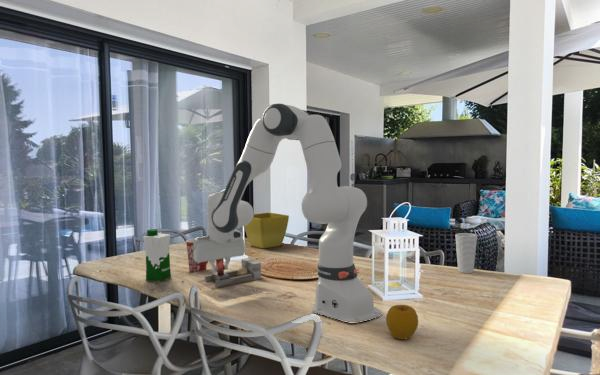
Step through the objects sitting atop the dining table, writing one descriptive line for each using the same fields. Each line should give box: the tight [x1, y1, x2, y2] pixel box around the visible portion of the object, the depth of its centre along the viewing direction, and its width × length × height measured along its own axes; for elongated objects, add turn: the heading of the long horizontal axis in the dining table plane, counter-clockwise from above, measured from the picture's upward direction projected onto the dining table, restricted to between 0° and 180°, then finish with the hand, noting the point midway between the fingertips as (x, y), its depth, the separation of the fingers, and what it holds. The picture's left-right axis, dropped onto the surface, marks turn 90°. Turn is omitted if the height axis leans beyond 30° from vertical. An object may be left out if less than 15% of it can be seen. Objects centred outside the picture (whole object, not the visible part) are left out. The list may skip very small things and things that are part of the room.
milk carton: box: [142, 228, 172, 282], centre depth 177 cm, size 9×9×20 cm
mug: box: [185, 237, 209, 273], centre depth 187 cm, size 13×9×14 cm
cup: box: [455, 232, 478, 274], centre depth 180 cm, size 8×8×16 cm
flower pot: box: [243, 212, 290, 249], centre depth 238 cm, size 19×19×17 cm
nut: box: [237, 266, 248, 276], centre depth 172 cm, size 4×4×4 cm
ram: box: [211, 258, 229, 282], centre depth 166 cm, size 7×4×9 cm, turn 36°
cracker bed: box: [197, 257, 265, 291], centre depth 169 cm, size 14×22×8 cm, turn 126°
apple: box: [385, 304, 419, 340], centre depth 117 cm, size 8×8×9 cm
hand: (220, 270), depth 166 cm, fingers closed on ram, 3 cm apart
